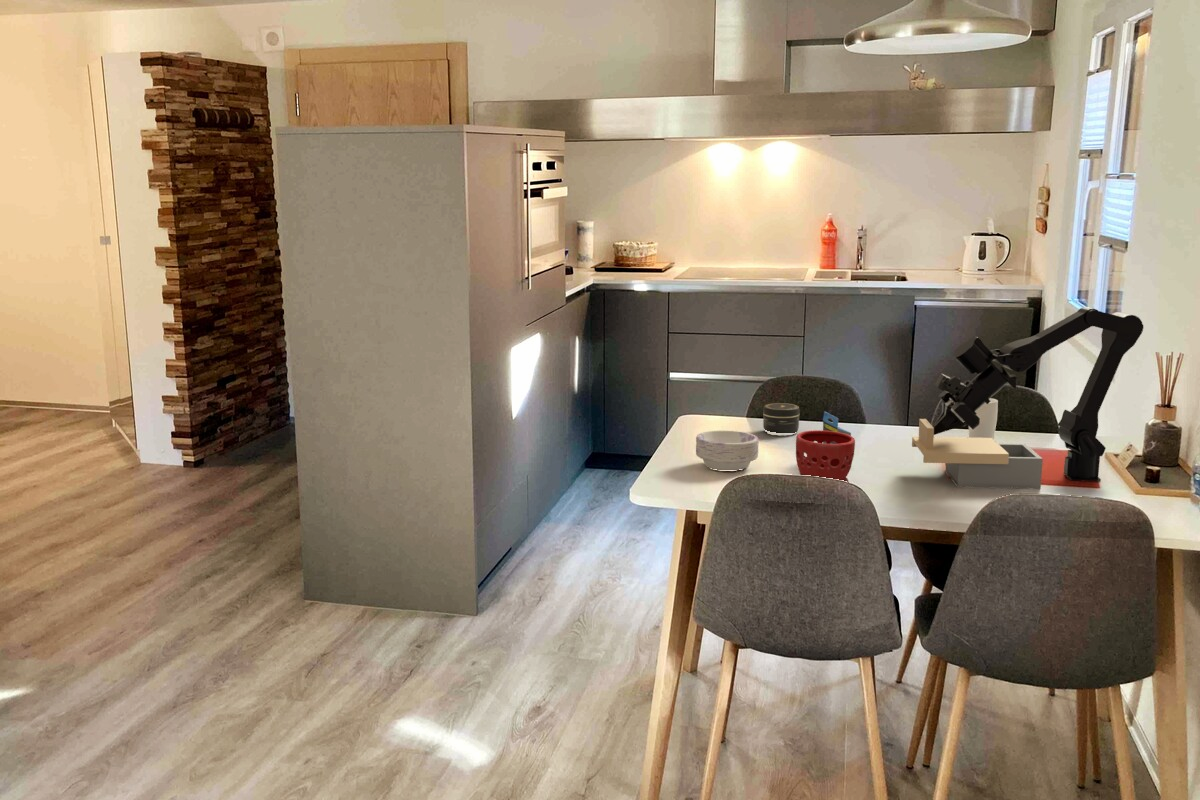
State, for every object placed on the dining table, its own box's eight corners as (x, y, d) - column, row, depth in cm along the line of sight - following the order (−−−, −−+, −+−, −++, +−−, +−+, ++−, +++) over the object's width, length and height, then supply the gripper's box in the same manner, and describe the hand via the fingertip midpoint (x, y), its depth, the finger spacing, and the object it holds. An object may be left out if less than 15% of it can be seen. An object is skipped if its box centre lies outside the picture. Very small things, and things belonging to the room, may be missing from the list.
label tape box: (851, 466, 259) (853, 417, 257) (836, 467, 258) (837, 418, 256) (836, 457, 267) (837, 410, 265) (821, 458, 266) (822, 410, 264)
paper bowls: (770, 467, 259) (771, 435, 257) (730, 479, 248) (731, 446, 247) (723, 456, 270) (723, 426, 268) (683, 467, 259) (683, 436, 258)
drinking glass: (993, 456, 267) (997, 397, 264) (995, 462, 260) (999, 403, 257) (965, 454, 268) (968, 396, 265) (966, 461, 262) (970, 401, 259)
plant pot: (794, 494, 236) (796, 441, 233) (794, 478, 248) (796, 428, 246) (854, 496, 233) (856, 443, 231) (851, 480, 246) (853, 430, 244)
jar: (794, 428, 300) (794, 402, 299) (803, 436, 291) (803, 409, 289) (759, 429, 300) (759, 403, 298) (767, 437, 290) (767, 410, 289)
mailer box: (1023, 472, 251) (1025, 443, 249) (1040, 488, 237) (1042, 458, 236) (945, 471, 253) (946, 442, 252) (957, 487, 239) (959, 457, 238)
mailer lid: (991, 447, 251) (993, 417, 250) (1008, 464, 236) (1010, 432, 235) (911, 446, 254) (913, 416, 252) (923, 462, 238) (925, 430, 237)
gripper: (950, 356, 250) (900, 401, 253) (967, 369, 232) (913, 417, 235) (982, 389, 250) (932, 434, 254) (1002, 404, 232) (948, 452, 236)
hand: (930, 433), depth 245 cm, fingers closed, pressing on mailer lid
